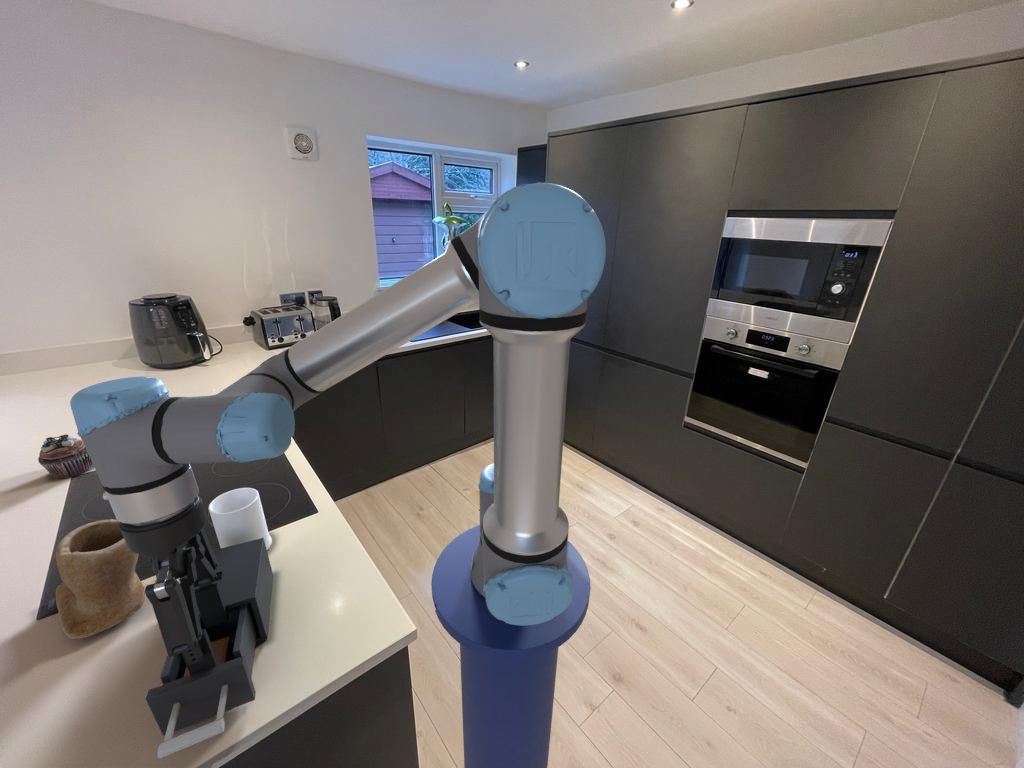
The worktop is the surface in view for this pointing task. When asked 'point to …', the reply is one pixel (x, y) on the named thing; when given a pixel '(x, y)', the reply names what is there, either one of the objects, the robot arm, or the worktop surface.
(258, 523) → the mug
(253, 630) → the drawer
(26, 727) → the worktop surface
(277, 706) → the worktop surface
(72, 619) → the stone cup
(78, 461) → the cupcake
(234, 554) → the cabinet
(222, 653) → the block
